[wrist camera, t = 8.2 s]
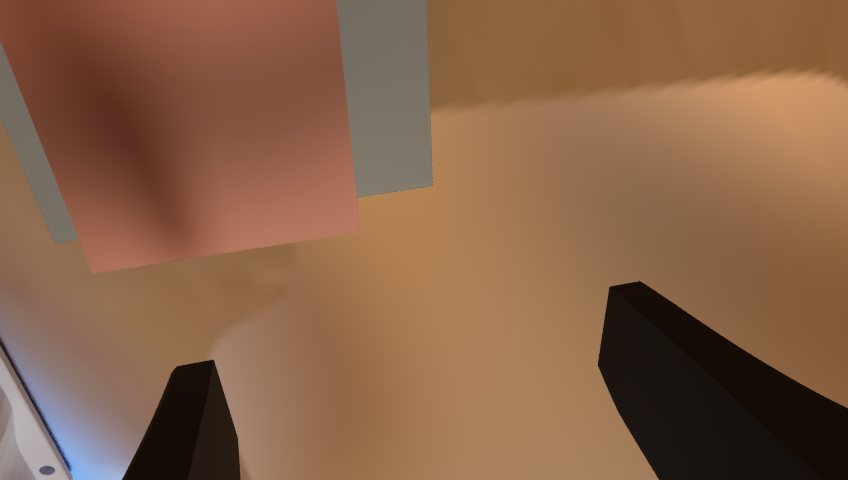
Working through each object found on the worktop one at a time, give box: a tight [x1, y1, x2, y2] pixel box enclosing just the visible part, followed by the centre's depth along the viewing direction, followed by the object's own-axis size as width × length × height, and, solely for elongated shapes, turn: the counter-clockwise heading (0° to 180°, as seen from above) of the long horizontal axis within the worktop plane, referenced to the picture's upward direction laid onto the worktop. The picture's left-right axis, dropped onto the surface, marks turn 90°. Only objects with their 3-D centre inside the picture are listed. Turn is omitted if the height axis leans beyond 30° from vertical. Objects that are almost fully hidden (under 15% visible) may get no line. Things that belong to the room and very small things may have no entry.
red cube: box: [0, 0, 360, 273], centre depth 14 cm, size 5×5×5 cm
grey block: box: [0, 0, 433, 243], centre depth 17 cm, size 10×10×4 cm
